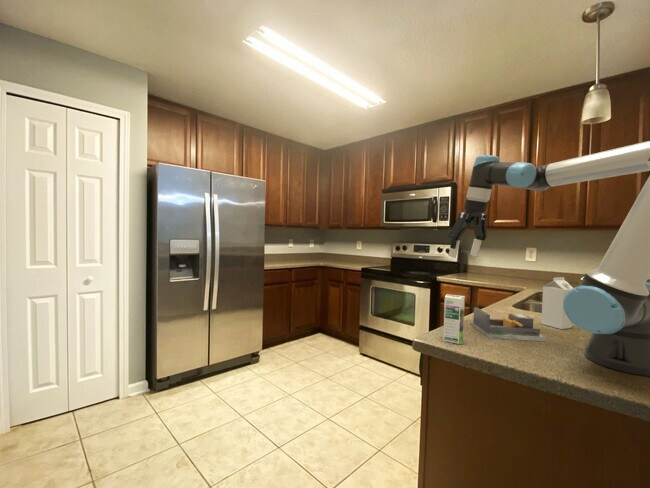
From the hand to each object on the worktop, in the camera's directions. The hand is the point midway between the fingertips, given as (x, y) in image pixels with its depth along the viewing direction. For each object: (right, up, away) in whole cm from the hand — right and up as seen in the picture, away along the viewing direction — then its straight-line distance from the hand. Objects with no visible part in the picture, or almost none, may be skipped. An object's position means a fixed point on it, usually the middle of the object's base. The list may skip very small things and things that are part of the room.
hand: (463, 256), depth 110 cm
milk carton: (+38, -27, +3) cm, 47 cm away
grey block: (+17, -25, -7) cm, 31 cm away
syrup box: (-11, -27, -16) cm, 33 cm away
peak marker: (+13, -25, -9) cm, 30 cm away
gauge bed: (+12, -27, -6) cm, 30 cm away
